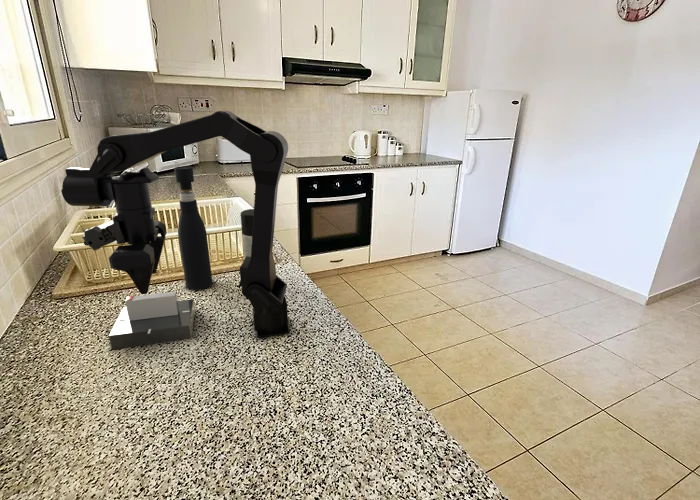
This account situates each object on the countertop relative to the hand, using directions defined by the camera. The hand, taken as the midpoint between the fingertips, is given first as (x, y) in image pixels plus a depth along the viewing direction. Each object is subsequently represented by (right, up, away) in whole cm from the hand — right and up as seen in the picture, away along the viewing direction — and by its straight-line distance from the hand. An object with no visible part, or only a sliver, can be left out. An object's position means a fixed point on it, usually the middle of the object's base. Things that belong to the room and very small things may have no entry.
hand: (148, 283), depth 74 cm
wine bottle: (+1, -3, +23) cm, 23 cm away
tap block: (0, -10, +4) cm, 11 cm away
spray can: (+17, -3, +22) cm, 28 cm away
